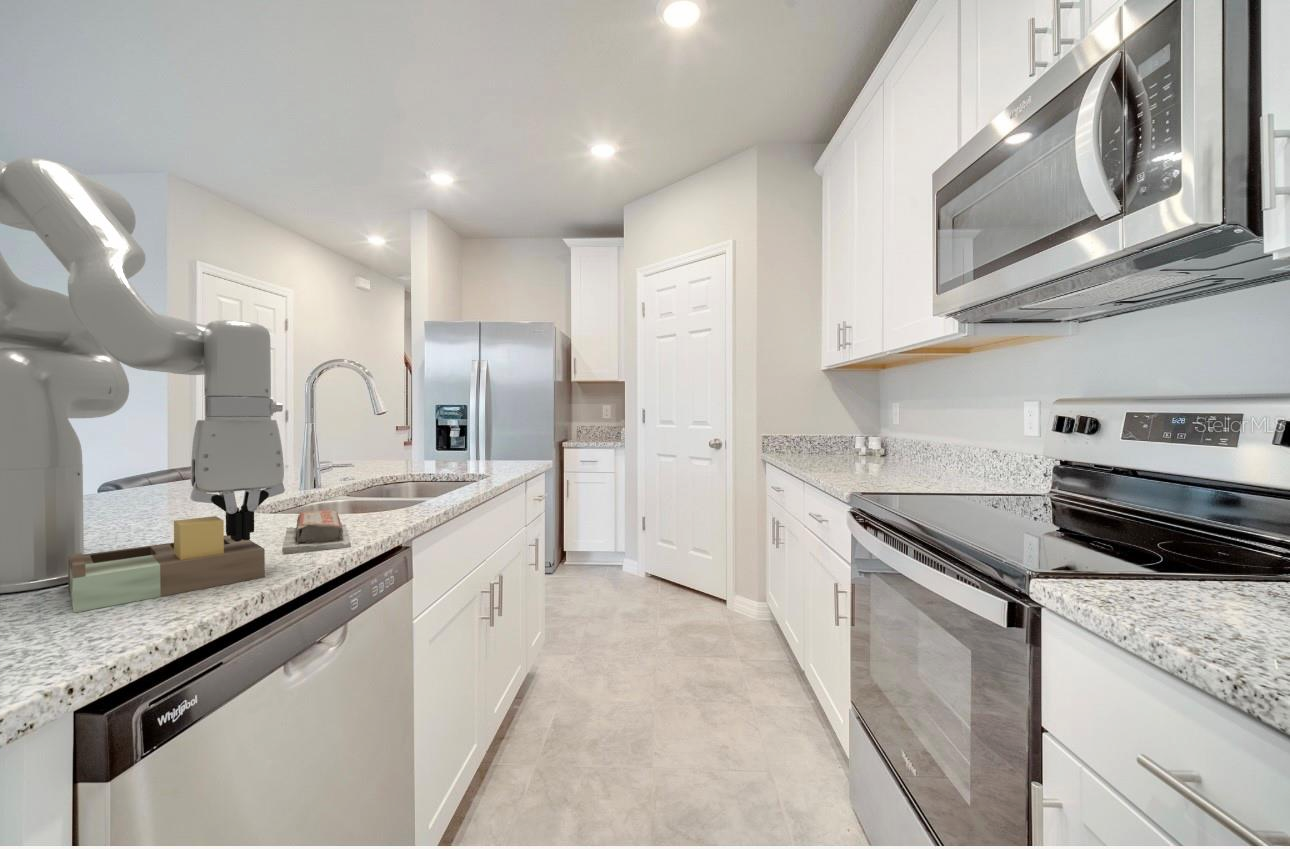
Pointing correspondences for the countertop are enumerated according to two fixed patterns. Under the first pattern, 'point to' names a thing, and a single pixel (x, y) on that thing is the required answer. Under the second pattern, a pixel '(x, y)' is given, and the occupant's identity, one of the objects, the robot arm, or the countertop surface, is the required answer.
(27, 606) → the countertop surface
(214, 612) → the countertop surface
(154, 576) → the box
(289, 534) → the packaged product
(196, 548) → the ochre block
